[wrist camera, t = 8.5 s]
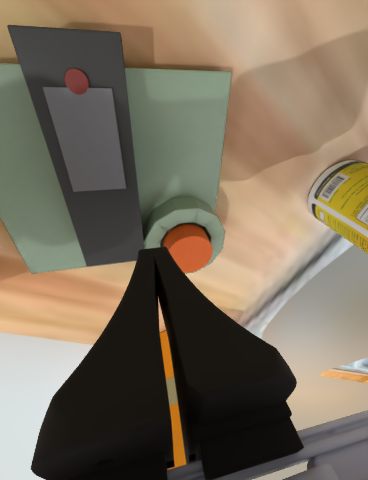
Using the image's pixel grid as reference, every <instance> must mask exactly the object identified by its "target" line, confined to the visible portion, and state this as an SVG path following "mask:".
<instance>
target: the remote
mask: <svg viewBox="0 0 368 480" xmlns="http://www.w3.org/2000/svg"><path fill="white" fill-rule="evenodd" d="M8 30H9V33H10V36H11V39H12V42H13V45H14V48H15V51H16V54H17V57H18V60H19V63H20V66H21V69H22V72H23V75H24V78H25V81H26V85H27V88H28V91H29V94H30V97H31V100H32V103H33V106H34V109H35V112H36V115H37V118H38V121H39V124H40V127H41V130H42V133H43V136H44V139H45V142H46V145H47V148H48V151H49V154H50V157H51V160H52V163H53V166H54V169H55V172H56V175H57V178H58V181H59V184H60V187H61V190H62V193H63V196H64V199H65V202H66V206H67V209H68V212H69V215H70V218H71V221H72V224H73V227H74V230H75V233H76V236H77V239H78V242H79V245H80V248H81V251H82V254H83V257H84V260H85V263H86V266H87V267H88V266H96V265H105V264H113V263H121V262H129V261H137V257H138V251H139V250H140V249H145V246H144V237H143V228H142V219H141V210H140V201H139V192H138V183H137V174H136V165H135V156H134V147H133V138H132V129H131V120H130V111H129V102H128V93H127V84H126V75H125V66H124V57H123V48H122V39H121V33H120V32H110V31H94V30H79V29H64V28H48V27H33V26H17V25H8Z"/></svg>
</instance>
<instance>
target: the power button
mask: <svg viewBox="0 0 368 480" xmlns="http://www.w3.org/2000/svg"><path fill="white" fill-rule="evenodd" d="M164 247H166V248H168V250H169V252H170V254H171V256H172V257H173V259H174V260H175V262H176V263H177V265H178V266H179V267H180V269H181V270H182V271H183V273H189V272H194V271H197V270H199V269H201V268H202V267H204V266H205V265H206V264H207V263H208V262H209V260H210V259H211V257H212V253H213V248H212V245H211V243H210V241H209V239H208V237H207V235H206V233H205V232H204V230H203V229H202V228H200V227H199V226H197V225H194V224H183V225H179V226H177V227H175V228H173V229H172V230H171V231H170V232H169V233H168V234H167V236H166V237H165V240H164Z"/></svg>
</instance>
